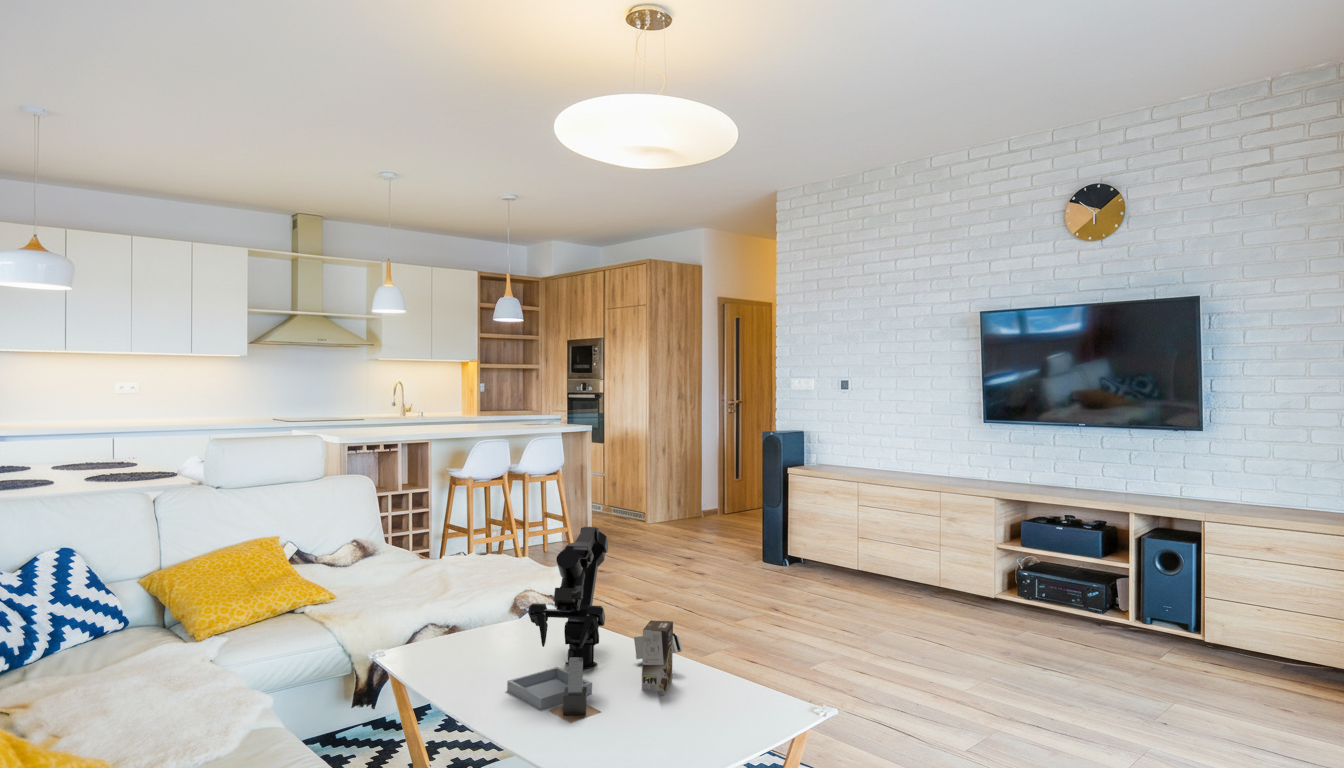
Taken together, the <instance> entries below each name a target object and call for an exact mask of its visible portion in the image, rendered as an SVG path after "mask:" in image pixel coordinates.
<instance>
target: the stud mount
mask: <svg viewBox="0 0 1344 768" xmlns="http://www.w3.org/2000/svg"><path fill="white" fill-rule="evenodd" d="M547 711H548V712H550V713H552V714H554V715H555V716H558V717H559V718H561V719H562V720H565V721H567V723H568V722H569V723H571V724H573V723H575V722H577V721H580V720H583V719H585V718H589V717H591V716H594V715H598V714H600V713H602V711H601V710H599V709H597V708H595V707H593V706H591V705H589V704H587V707H586V716H563V705H560V706H557V707H555V708H551V709H548V710H547Z"/></svg>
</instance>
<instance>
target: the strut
mask: <svg viewBox="0 0 1344 768" xmlns="http://www.w3.org/2000/svg"><path fill="white" fill-rule="evenodd" d="M583 670H584V669H583V657H569V666H568V670H567V672H568V687H565V690H564V695H563V703H562V706H563V716H586V707H587V705H588V702H587V701H588V700H587V699H588V695H587V687H583V679H584V673H583V672H584V671H583Z"/></svg>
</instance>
